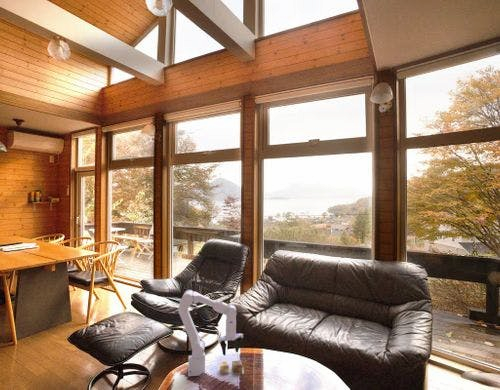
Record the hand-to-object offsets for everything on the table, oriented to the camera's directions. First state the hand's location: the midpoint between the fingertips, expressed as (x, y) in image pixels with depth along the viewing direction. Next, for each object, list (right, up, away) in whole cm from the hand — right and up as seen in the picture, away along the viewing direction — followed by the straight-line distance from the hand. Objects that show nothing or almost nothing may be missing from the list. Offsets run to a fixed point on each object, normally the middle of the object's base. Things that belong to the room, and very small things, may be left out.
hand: (230, 353), depth 166 cm
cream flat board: (+5, -9, 0) cm, 10 cm away
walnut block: (+4, -9, -1) cm, 10 cm away
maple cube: (-3, -9, -2) cm, 10 cm away
